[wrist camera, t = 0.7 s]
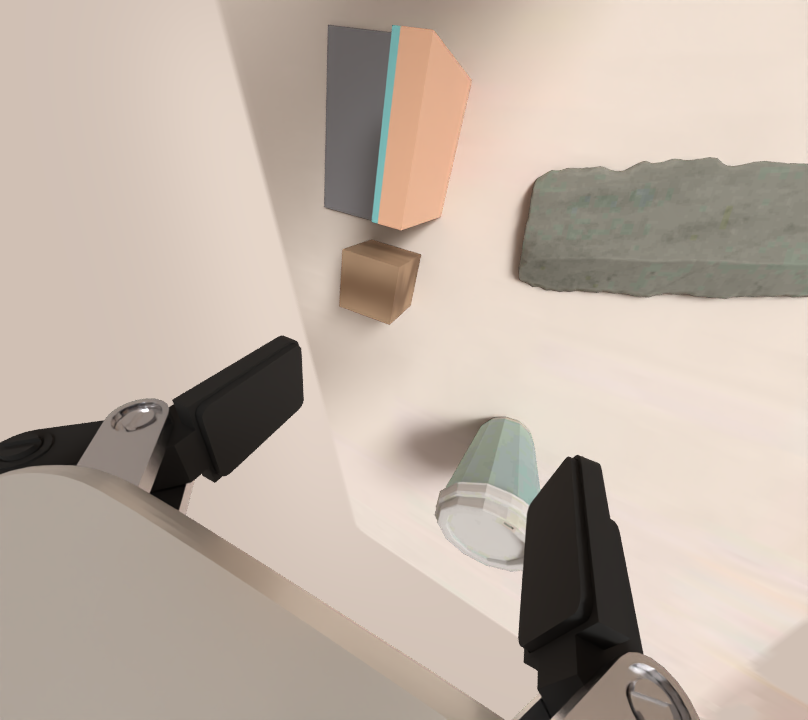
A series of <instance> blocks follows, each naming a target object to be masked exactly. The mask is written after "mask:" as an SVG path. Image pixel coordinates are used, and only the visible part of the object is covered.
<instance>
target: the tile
mask: <svg viewBox="0 0 808 720" xmlns="http://www.w3.org/2000/svg"><path fill="white" fill-rule="evenodd" d="M471 82H472V80H471V79H470V77H469V76H468V75H467V73H466V72H465V71H464V69H463V68H462V67H461V65H460V64H459V63H458V61H457V60H456V59H455V58H454V56H453V55H452V54H451V52H450V51H449V50H448V48H447V47H446V46H445V44H444V43H443V42H442V40H441V39H440V38H439V36H438V35H437V34H436V32H435V31H434V30H431V29H423V28H414V27H405V26H397V25H392V33H391V43H390V52H389V62H388V71H387V81H386V90H385V100H384V109H383V119H382V128H381V138H380V147H379V157H378V166H377V176H376V185H375V195H374V204H373V214H372V222H374V223H377V224H381V225H384V226H388V227H391V228H395V229H398V230H404V229H407V228H410V227H413V226H416V225H418V224H421V223H424V222H427V221H430V220H433V219H436V218H439V217H441V214H442V210H443V205H444V201H445V196H446V192H447V188H448V183H449V179H450V174H451V170H452V166H453V161H454V157H455V152H456V148H457V144H458V139H459V135H460V130H461V126H462V122H463V117H464V113H465V109H466V104H467V100H468V95H469V91H470V87H471Z"/></svg>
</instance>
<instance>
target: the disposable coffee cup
mask: <svg viewBox="0 0 808 720" xmlns="http://www.w3.org/2000/svg"><path fill="white" fill-rule="evenodd" d="M539 492H540V485H539V477H538V470H537V463H536V455H535V448H534V443H533V440H532V436H531V433H530V432H529V430H528V429H527V428H526V427H525V426H524V425H523V424H521V423H520V422H519V421H516V420H513V419H511V418H508V417H498V418H492V419H491V420H489V421H488V422H486V423H485V424H483V425H482V426H481V427H480V429H479V431H478V432H477V434H476V436H475V438H474V439H473V441H472V443H471V445H470V446H469V448H468V450H467V452H466V453H465V455H464V457H463V458H462V460H461V462H460V464H459V465H458V467H457V469H456V471H455V472H454V474H453V476H452V478H451V479H450V481H449V483H448V484H447V486H446V488H445V489H443V490H441V491H440V493H439V497H438V501H437V505H436V511H435V516H436V519H437V523H438V525H439V526H440V528H441V530H442V532H443V534H444V536H445V538H446V539H447V540H448V541H449V542H451V543H452V544H453V545H454V546H455V547H456V548H457V549H459V550H460V551H461V552H462V553H463V554H465V555H467V556H469V557H471V558H473V559H475V560H477V561H479V562H481V563H483V564H485V565H486V566H490V567H494V568H498V569H502V570H507V571H511V572H513V571H523V562H524V547H525V533H526V518H527V511H528V508H529V505H530V504H531V502H532V501H533V500H534V498H535V497H536V496H537V494H538V493H539Z"/></svg>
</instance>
